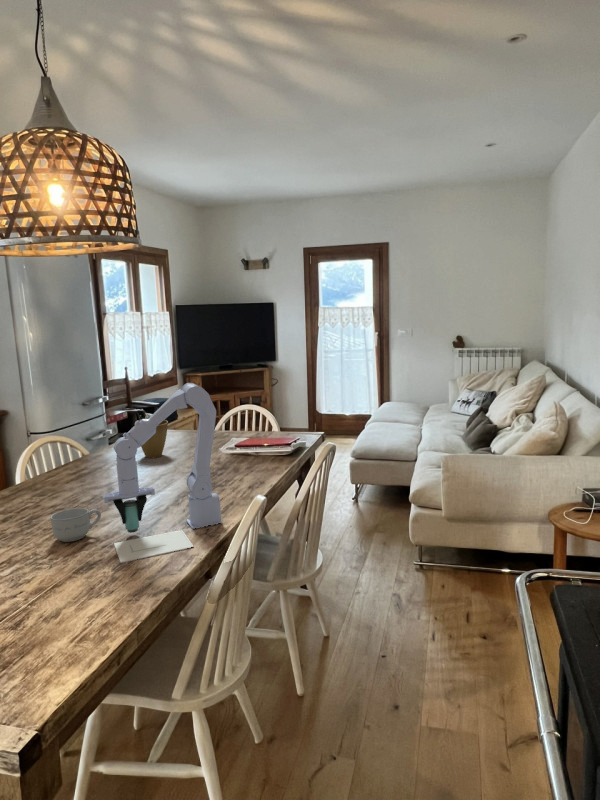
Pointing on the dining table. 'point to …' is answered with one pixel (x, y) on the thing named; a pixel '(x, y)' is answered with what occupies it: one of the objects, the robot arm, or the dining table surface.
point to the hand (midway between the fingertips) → (131, 521)
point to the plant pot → (156, 441)
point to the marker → (131, 515)
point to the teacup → (72, 523)
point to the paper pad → (152, 546)
